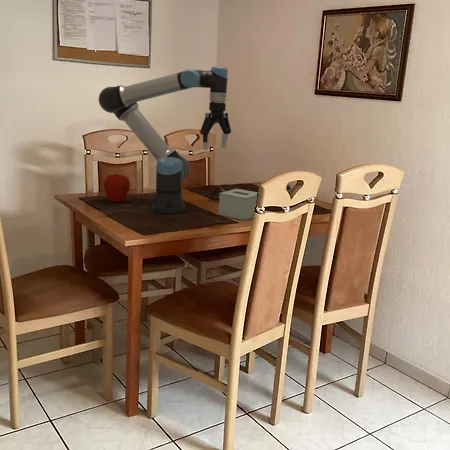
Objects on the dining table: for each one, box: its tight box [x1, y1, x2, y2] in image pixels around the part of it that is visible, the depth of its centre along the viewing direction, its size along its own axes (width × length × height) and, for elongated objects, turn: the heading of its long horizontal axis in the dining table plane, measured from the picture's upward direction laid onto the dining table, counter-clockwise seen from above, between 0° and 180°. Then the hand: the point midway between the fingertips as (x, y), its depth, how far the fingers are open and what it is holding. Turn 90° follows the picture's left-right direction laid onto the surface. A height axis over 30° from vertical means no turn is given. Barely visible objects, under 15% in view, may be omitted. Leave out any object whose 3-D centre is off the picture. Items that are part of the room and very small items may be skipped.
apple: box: [103, 172, 131, 203], centre depth 254 cm, size 12×12×14 cm
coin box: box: [218, 188, 259, 221], centre depth 241 cm, size 14×14×10 cm
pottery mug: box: [208, 186, 229, 201], centre depth 268 cm, size 12×10×8 cm
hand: (214, 148), depth 248 cm, fingers open, 13 cm apart
